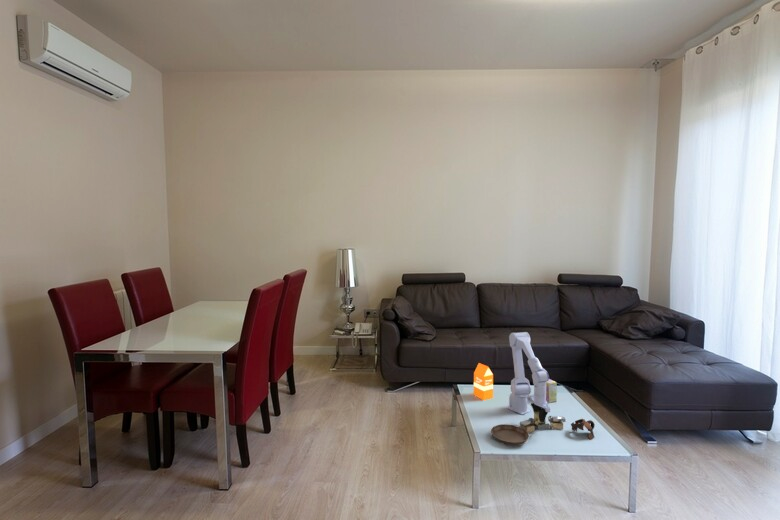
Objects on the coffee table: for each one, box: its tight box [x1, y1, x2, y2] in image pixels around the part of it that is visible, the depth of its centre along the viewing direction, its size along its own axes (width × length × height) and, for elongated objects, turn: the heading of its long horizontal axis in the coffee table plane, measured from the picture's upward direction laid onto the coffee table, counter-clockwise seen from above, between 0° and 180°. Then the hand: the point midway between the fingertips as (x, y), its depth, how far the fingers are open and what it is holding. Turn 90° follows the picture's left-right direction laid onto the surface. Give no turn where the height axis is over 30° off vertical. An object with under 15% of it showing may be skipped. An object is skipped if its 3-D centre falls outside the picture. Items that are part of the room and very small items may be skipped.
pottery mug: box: [570, 418, 596, 440], centre depth 190 cm, size 12×10×8 cm
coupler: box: [533, 411, 546, 425], centre depth 197 cm, size 6×4×6 cm
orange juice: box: [473, 362, 494, 401], centre depth 235 cm, size 8×9×20 cm
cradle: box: [533, 422, 550, 431], centre depth 198 cm, size 6×7×3 cm
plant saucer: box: [490, 423, 530, 447], centre depth 186 cm, size 18×18×3 cm
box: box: [546, 378, 558, 404], centre depth 231 cm, size 10×6×12 cm, turn 17°
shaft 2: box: [547, 415, 566, 430], centre depth 197 cm, size 8×4×6 cm, turn 86°
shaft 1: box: [519, 417, 535, 434], centre depth 194 cm, size 8×4×6 cm, turn 116°
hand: (539, 419), depth 197 cm, fingers closed on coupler, 4 cm apart
